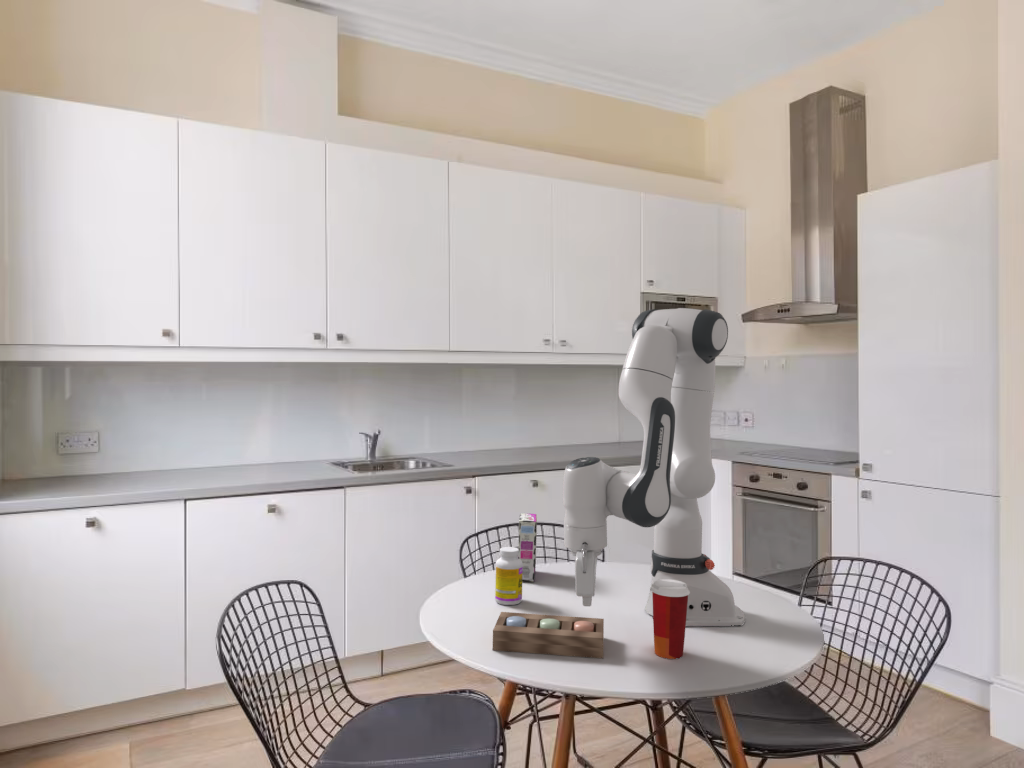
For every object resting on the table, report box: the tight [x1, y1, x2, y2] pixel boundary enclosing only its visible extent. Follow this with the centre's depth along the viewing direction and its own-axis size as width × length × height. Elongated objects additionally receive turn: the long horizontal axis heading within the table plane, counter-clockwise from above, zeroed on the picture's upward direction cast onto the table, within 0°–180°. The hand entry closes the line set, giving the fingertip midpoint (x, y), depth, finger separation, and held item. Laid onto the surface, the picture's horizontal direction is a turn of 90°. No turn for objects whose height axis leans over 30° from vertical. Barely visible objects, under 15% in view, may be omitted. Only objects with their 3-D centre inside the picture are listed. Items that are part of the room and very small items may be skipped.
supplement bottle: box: [494, 546, 523, 606], centre depth 168 cm, size 7×7×13 cm
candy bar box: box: [517, 512, 538, 583], centre depth 189 cm, size 11×5×16 cm, turn 178°
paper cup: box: [649, 579, 690, 660], centre depth 138 cm, size 8×8×14 cm
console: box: [492, 611, 605, 659], centre depth 142 cm, size 22×11×4 cm, turn 82°
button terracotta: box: [574, 621, 594, 632], centre depth 141 cm, size 4×4×2 cm
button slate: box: [507, 616, 526, 627], centre depth 143 cm, size 4×4×2 cm
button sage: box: [540, 619, 560, 629], centre depth 142 cm, size 4×4×2 cm
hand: (587, 604), depth 142 cm, fingers closed
